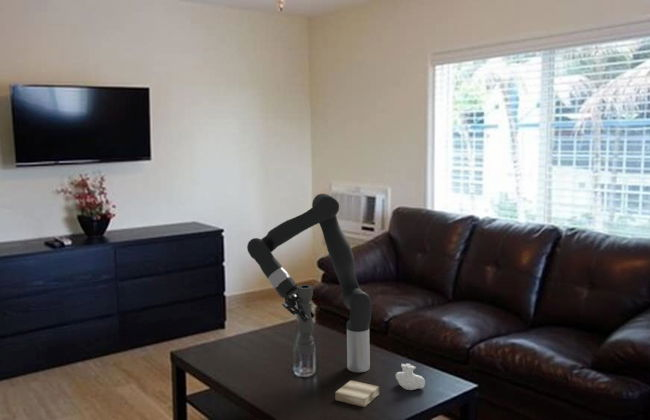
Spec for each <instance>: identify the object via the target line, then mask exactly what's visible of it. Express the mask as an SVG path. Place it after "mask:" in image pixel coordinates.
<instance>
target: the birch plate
mask: <svg viewBox="0 0 650 420" xmlns="http://www.w3.org/2000/svg"><path fill="white" fill-rule="evenodd" d="M334 393H335V395H334V396H335V397H334V398H335V401H337V402H338V401H339V402H342V403H347V404H349V405H350V404H351V405H354V406H359V407H363V408H365V407H367V406H368V404H370V403H372V401H373V400H375V399H376V398H377V396H379V395H380V386H378V385H374V384H369V383H365V382H360V381H356V380H349V381H348V382H346V383H345V384H344V385H342V386H341V387H340V388H338V389H337V390H336V391H335V392H334Z"/></svg>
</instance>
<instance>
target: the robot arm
mask: <svg viewBox="0 0 650 420" xmlns="http://www.w3.org/2000/svg"><path fill="white" fill-rule="evenodd" d="M311 206H312V207H311V208H310V209H308V210H306V211H305V212H304V213H301V214H299V215H296V216H295V217H292V218H290V219H287V220H285V221H283V222H281V223H280V224H278V225H276V226H275V227H274V228H271V229H270V230H269V231H268V232H267V234H266V235H265V236H264V237H262V238H258V237H256V238H251V239H250V240H249V241H248V242H247V247H246V248H247V249H246V250H247V252H248V254H249V256H250V257H251V259H253V260H254V261H255V262H256V263H257V265H258V266H259V267H260V269H261V271H262V273H263V274H264V275H265V277H266V279H268V281H269V283H270V284H271V286H272V287H273V288H274V290H275V291H276V293H277V294H278V295H279V296H280V298H282V299H284V301H283V303H282V305H281V306H283V308H285V309H286V310H287V311H288V312H289V313H290V314H292V315H293V316H295V315H297V316H298V317H299V318H301V319H302V320H303V321H304V322H306V321H307V320H308V319H309V318H308V317H307V315H306V314H305V313H304V311H302V309H301V307H300V305H299V302H300V299H299V297H298V284H297V283H296V281H295V280H294V278H292V277H291V275H290V274H289V272H288V271H287V270H286V269H285V268H284V267H283V265H282V264H281V263H280V262H279V261H278V260H277V258H276V257H275V256H274V255H273V253H272V252H274V251H275V250H276V249H277V248H278V247H280V246H281V245H283V244H285V243H287V242H289V241H290V240H291V239H293V238H295V237H296V236H298V235H300V234H301V233H302V232H305V231H306V230H308V229H310V228H312V227H314V226H315V225H316V226H317V225H318V224H319V226H320V228H321V232H322V235H323V238H324V239H323V240H324V242H325V246H326V248H327V252H328V256H329V258H330V261H331V264H332V267H333V269H334V272H335V275H336V277H337V280H338V282H339V286H340V289H341V295H342V301H343V303H344V305H345V307H346V308H347V309H348V310H349V320H347V322H346V353H347V354H346V356H347V357H346V358H347V359H346V360H347V361H346V365H347V370H348V371H349V372H352V373H364V372H367V371H369V370H370V367H371V357H370V356H371V355H370V354H371V352H370V351H371V348H370V347H371V346H370V345H371V344H370V324H371V322H372V321H371V320H372V300H371V297H370V295H369V294H368V293H366V292H365V291H363V290H362V289H361V287H360V285H359V283H358V280H357V278H356V277H357V276H356V271H355V268H356V267H355V265H356V264H355V257H354V254H353V253H354V252H353V249H352V248H351V245H350V242H349V240H348V238H347V237H346V234H345V233H344V231H343V230H342V228H341V225H340V224H339V221H338V218H337V214H338V213H339V210H340V203H339V201H338V199H336V197H334V196H333V195H329V194H328V193H320V194H319V193H318V194H316V196H315V197H314V198H313V199H312V202H311ZM311 316H312V319H314V317H315V316H316V314H315V312H314V310H313V309H312V308H311Z"/></svg>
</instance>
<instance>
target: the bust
mask: <svg viewBox="0 0 650 420" xmlns="http://www.w3.org/2000/svg"><path fill="white" fill-rule="evenodd" d="M400 367H401V368H402V369H401V370H402V371H398V372H396V373H395V379H396V381H397V382H398V385H399V386H401V387H402V389H404V390H407V391H413V390H417V389H423V388H424V387H425V385H426V380H425V378H424V377H423V376H422V375H418V374H416V373H414V370H415V369H417V367H416V366H414V365H413V364H411V363H401V366H400Z"/></svg>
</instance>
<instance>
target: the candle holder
mask: <svg viewBox="0 0 650 420" xmlns="http://www.w3.org/2000/svg"><path fill="white" fill-rule="evenodd" d="M313 287H314V286H313V285H312V284H299V285H297V289H298V297H299V299H300V302H299V305H300V307H301V309H302V311H304V313H305V314H306V315H307V317H308V318H309V319H308V320H307V321H306V322H304V321H303V320H302V319H301V318H300V317H299V319H298V323H297V330H298V331H297V332H299V334H300V335H299V337H298V341H297V352H298V353H299V354H301V355H310V354H311V355H312V354H313V353H314V352H315V341H314V337H313V332H314V330H315V325H314V321H313V318H312V316H311V309H312V308H311V307H312V305H313V301H312V298H313V296H314V288H313Z"/></svg>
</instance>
